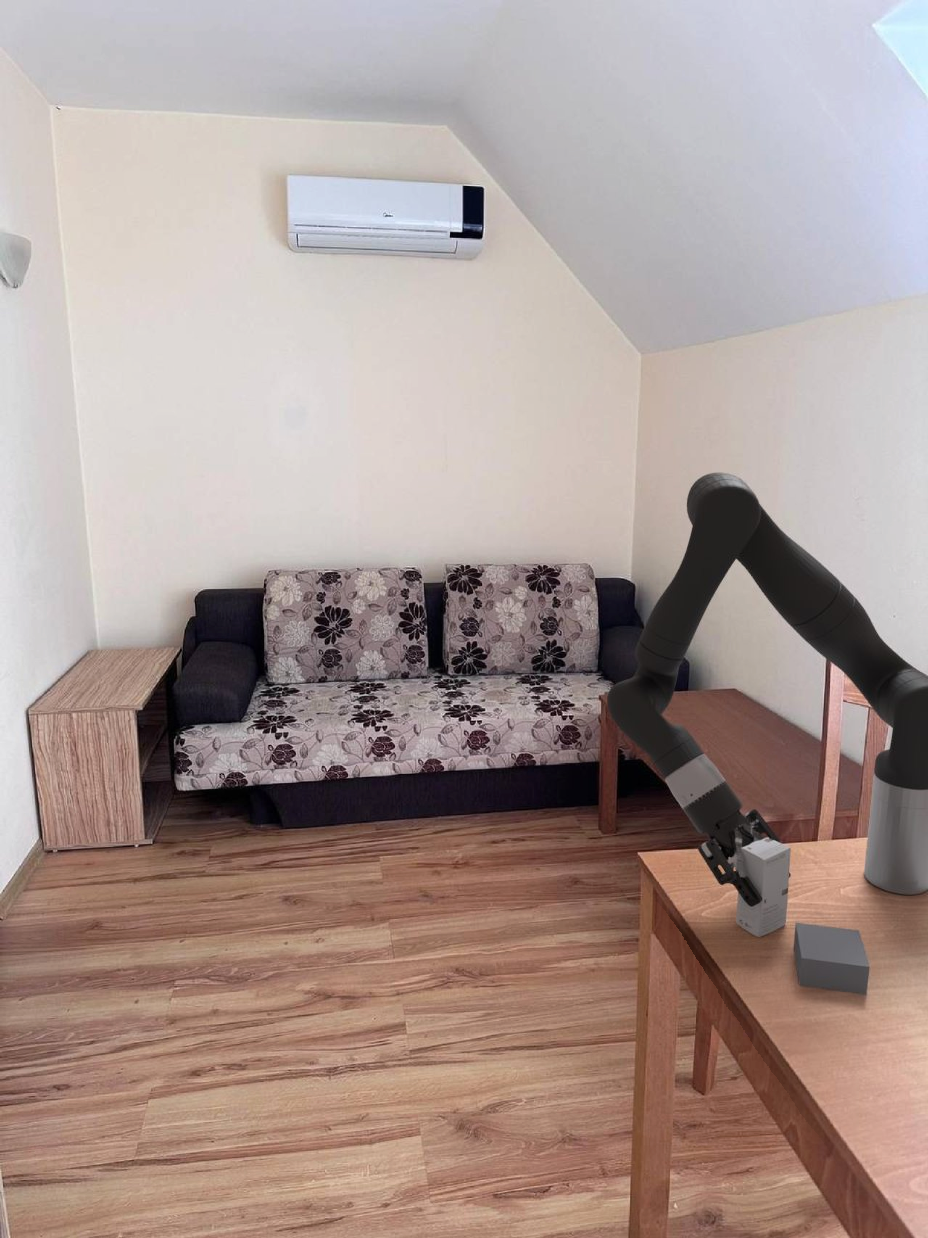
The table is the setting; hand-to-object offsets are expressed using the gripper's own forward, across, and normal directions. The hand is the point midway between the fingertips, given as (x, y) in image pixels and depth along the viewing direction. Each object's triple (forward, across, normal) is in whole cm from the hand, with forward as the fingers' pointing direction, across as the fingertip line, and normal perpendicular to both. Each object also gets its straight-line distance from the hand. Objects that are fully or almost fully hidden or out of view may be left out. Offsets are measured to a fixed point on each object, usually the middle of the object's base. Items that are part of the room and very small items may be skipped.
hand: (771, 891), depth 124 cm
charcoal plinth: (+11, -4, -3) cm, 12 cm away
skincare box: (+3, 0, +5) cm, 6 cm away
